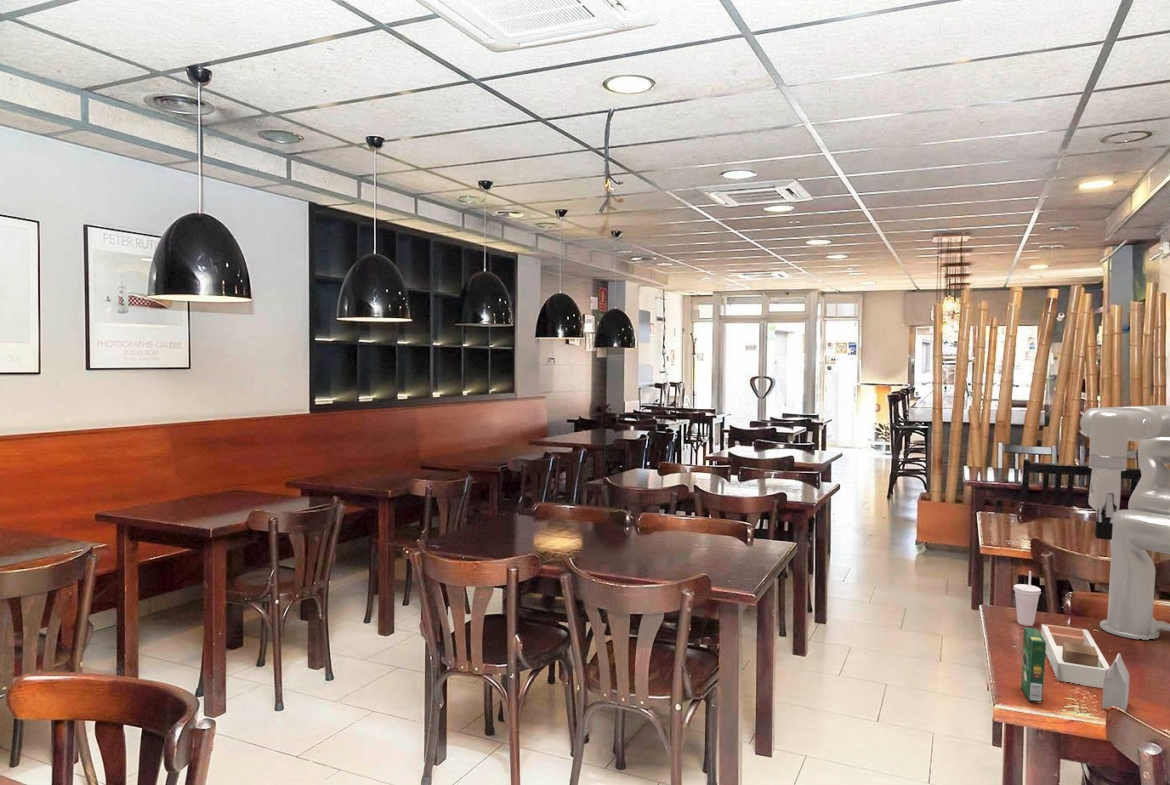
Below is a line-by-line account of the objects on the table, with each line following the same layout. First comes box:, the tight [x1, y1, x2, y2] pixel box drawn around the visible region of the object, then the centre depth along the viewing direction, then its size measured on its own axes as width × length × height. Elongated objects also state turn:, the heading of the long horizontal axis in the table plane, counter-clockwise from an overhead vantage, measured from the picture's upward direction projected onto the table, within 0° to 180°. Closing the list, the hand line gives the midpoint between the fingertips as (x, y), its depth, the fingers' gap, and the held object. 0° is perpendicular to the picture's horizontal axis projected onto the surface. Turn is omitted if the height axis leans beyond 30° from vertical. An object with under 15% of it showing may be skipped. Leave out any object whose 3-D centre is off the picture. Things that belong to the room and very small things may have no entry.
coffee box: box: [1020, 626, 1046, 703], centre depth 163 cm, size 8×3×13 cm, turn 160°
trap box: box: [1040, 623, 1110, 689], centre depth 182 cm, size 10×28×4 cm, turn 157°
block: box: [1062, 642, 1099, 667], centre depth 173 cm, size 6×6×4 cm
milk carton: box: [1101, 652, 1130, 712], centre depth 159 cm, size 4×7×10 cm, turn 140°
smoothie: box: [1013, 570, 1042, 627], centre depth 208 cm, size 6×6×14 cm
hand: (1103, 538), depth 189 cm, fingers closed
